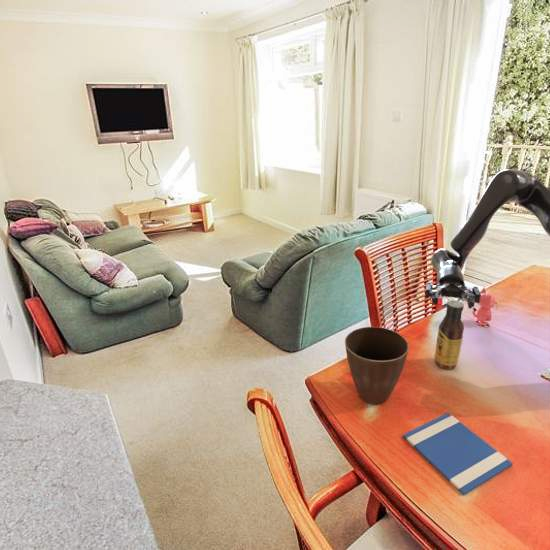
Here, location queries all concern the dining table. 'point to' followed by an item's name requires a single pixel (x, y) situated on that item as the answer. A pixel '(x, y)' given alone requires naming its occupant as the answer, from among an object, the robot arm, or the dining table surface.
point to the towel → (457, 452)
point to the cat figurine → (485, 308)
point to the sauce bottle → (450, 336)
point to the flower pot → (375, 361)
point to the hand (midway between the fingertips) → (453, 303)
